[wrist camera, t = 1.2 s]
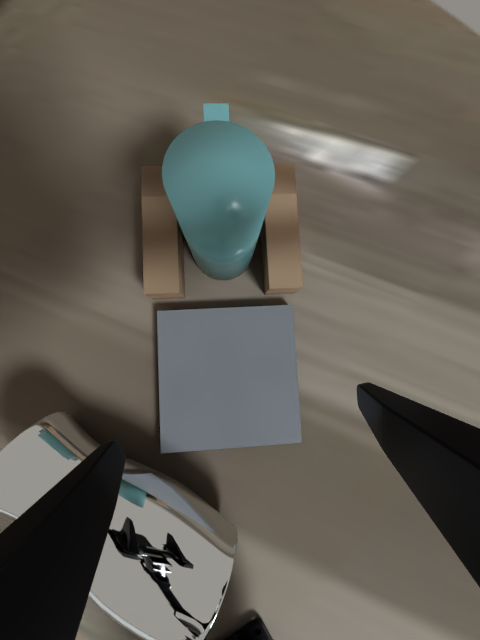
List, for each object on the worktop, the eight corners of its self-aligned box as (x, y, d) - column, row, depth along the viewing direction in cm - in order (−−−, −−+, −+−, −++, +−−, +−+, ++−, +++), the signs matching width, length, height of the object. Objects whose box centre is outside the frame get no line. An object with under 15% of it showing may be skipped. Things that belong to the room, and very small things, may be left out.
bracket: (294, 293, 21) (303, 287, 19) (153, 299, 21) (143, 293, 18) (286, 183, 22) (294, 163, 19) (150, 185, 21) (140, 165, 19)
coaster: (298, 437, 20) (301, 442, 19) (164, 447, 20) (160, 453, 19) (289, 306, 21) (292, 304, 20) (160, 312, 20) (156, 310, 20)
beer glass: (-82, 534, 12) (170, 719, 11) (32, 407, 14) (247, 557, 14) (18, 484, 19) (181, 600, 18) (85, 402, 21) (232, 504, 20)
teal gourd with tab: (254, 279, 21) (278, 226, 11) (194, 281, 21) (163, 229, 11) (249, 187, 22) (267, 60, 12) (190, 188, 21) (158, 59, 12)
